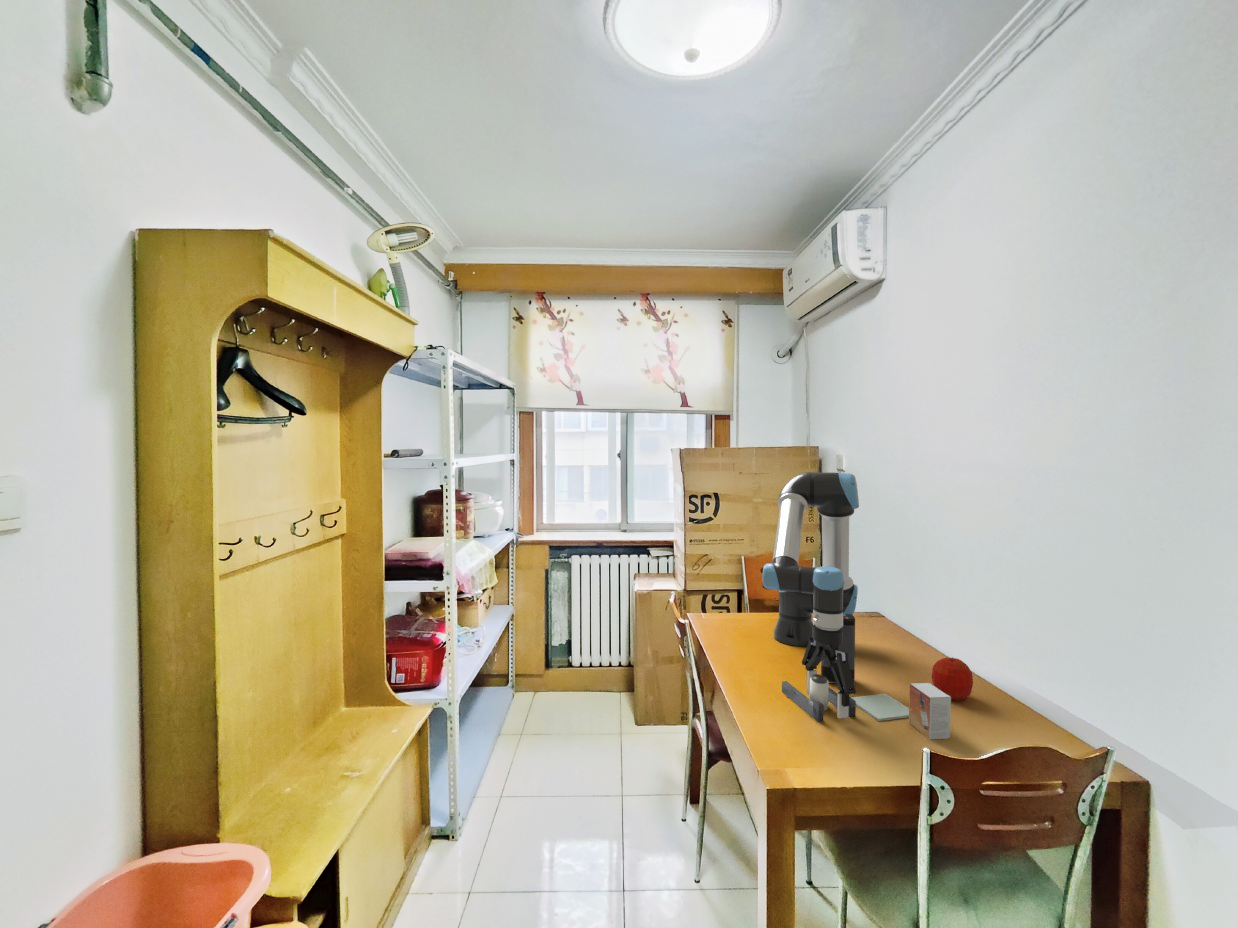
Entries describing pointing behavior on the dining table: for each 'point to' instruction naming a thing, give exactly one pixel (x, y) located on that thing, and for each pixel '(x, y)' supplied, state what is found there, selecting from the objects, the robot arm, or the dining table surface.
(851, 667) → the electronic device
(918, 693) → the small box
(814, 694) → the white cylindrical piece
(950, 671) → the apple
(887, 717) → the pad
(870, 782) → the dining table surface
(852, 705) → the channel
